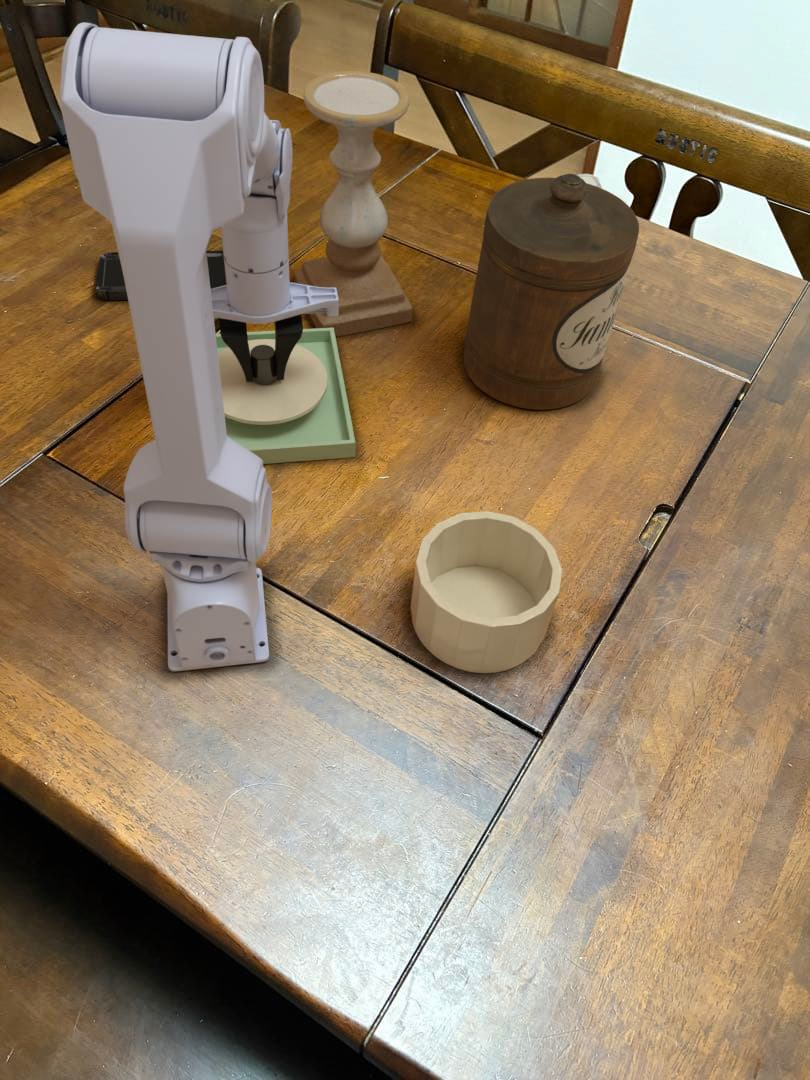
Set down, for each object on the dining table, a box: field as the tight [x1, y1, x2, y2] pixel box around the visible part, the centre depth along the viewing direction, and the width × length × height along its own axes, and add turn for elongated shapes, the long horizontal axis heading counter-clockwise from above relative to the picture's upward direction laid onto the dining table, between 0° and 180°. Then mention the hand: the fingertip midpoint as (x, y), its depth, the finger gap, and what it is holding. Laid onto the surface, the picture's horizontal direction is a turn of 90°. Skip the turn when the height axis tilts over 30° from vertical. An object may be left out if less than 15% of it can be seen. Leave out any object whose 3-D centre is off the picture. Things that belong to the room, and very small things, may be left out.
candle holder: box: [293, 70, 413, 338], centre depth 97 cm, size 11×11×24 cm
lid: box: [218, 339, 328, 425], centre depth 91 cm, size 13×13×4 cm
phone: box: [94, 250, 227, 301], centre depth 106 cm, size 8×1×15 cm
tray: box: [215, 327, 357, 465], centre depth 93 cm, size 18×16×2 cm
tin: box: [409, 510, 563, 674], centre depth 76 cm, size 12×12×7 cm
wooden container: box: [463, 173, 640, 411], centre depth 92 cm, size 15×15×22 cm
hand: (264, 374), depth 91 cm, fingers closed on lid, 2 cm apart
